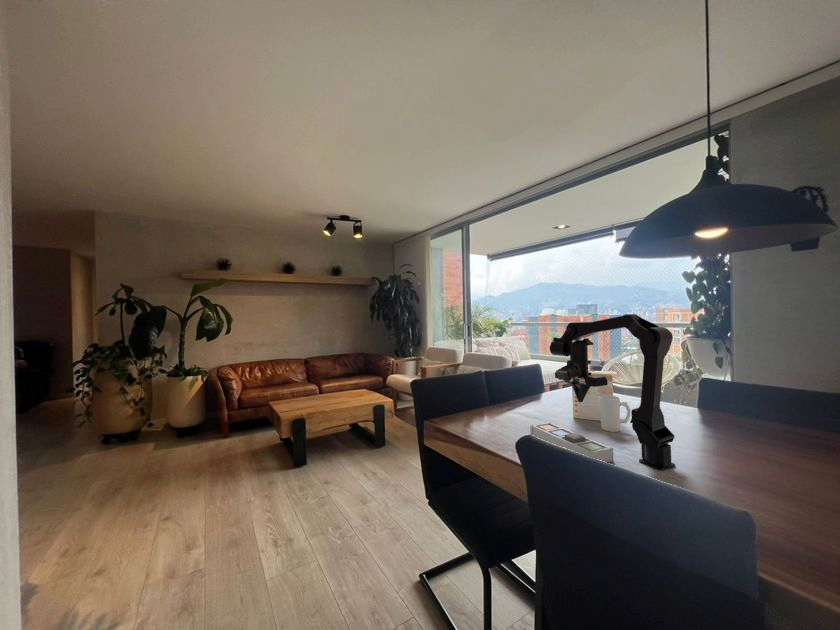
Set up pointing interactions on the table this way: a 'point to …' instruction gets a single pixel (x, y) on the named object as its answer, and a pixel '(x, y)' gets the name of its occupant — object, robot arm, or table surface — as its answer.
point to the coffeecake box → (592, 398)
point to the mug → (612, 413)
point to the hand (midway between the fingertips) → (580, 401)
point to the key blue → (559, 433)
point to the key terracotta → (546, 427)
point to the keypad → (600, 454)
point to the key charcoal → (574, 438)
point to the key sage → (590, 447)
